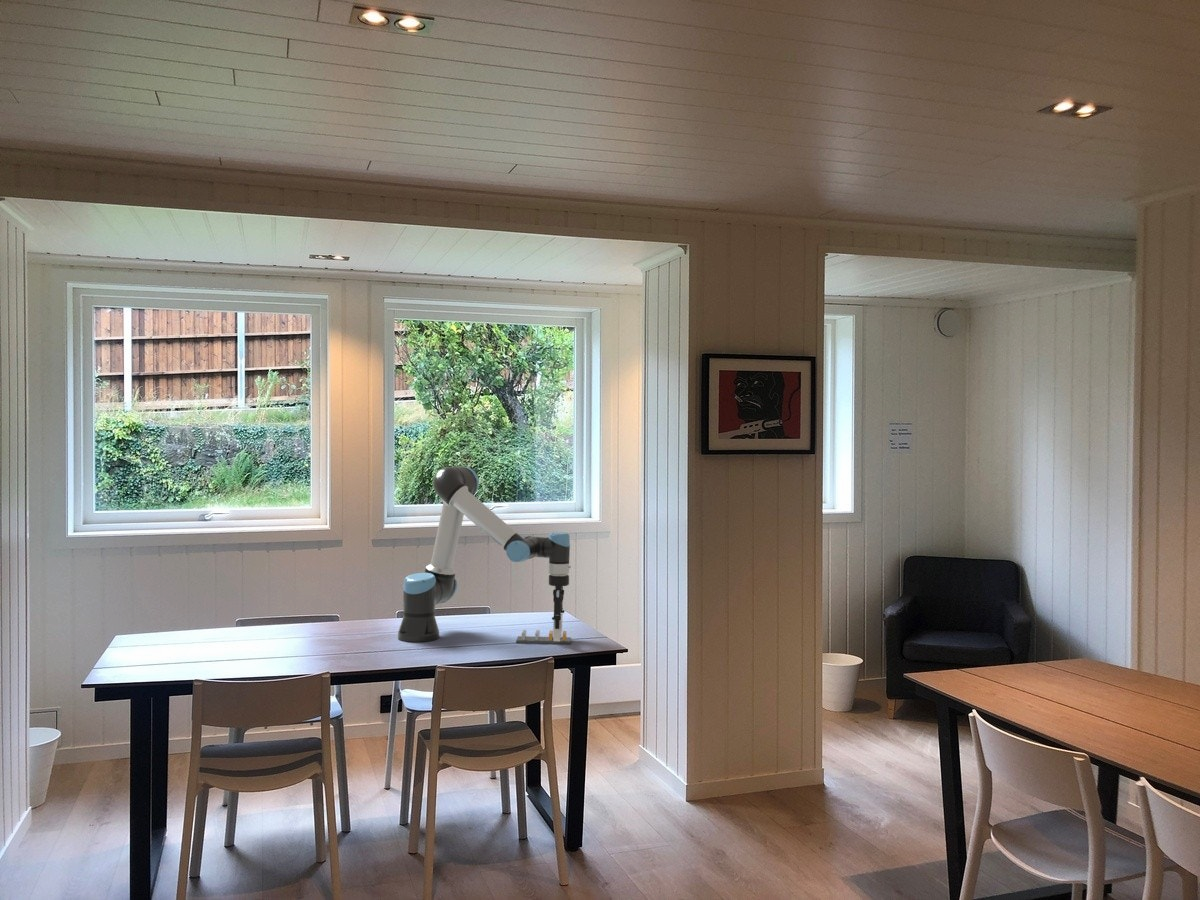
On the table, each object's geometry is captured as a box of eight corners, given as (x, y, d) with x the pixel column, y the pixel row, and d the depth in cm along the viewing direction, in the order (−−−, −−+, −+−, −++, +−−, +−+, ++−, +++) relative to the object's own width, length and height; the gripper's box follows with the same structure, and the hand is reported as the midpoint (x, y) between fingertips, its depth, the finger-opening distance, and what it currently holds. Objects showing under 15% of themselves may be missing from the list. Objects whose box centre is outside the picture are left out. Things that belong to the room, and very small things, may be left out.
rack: (516, 643, 345) (516, 633, 345) (518, 638, 352) (518, 629, 352) (570, 644, 344) (571, 634, 344) (571, 640, 351) (571, 630, 351)
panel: (553, 641, 344) (553, 620, 344) (554, 636, 352) (554, 616, 352) (560, 641, 344) (560, 621, 344) (561, 636, 352) (561, 616, 352)
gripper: (567, 579, 336) (566, 641, 336) (570, 570, 359) (569, 627, 359) (546, 579, 336) (545, 640, 336) (550, 569, 359) (549, 627, 360)
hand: (557, 634), depth 348 cm, fingers open, 10 cm apart
